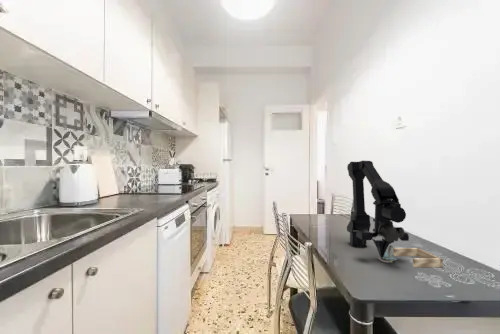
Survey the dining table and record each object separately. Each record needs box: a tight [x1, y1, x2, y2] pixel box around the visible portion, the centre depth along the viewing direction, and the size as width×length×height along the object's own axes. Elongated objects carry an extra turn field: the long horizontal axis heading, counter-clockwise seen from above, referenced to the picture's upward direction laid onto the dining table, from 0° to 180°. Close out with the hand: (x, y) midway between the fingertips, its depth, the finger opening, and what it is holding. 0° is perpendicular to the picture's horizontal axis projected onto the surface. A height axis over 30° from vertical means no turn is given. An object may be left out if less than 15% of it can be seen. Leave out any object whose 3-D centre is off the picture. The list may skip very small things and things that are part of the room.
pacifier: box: [378, 244, 397, 263], centre depth 111 cm, size 7×6×6 cm
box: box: [392, 247, 444, 268], centre depth 112 cm, size 11×14×3 cm
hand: (381, 256), depth 111 cm, fingers closed
